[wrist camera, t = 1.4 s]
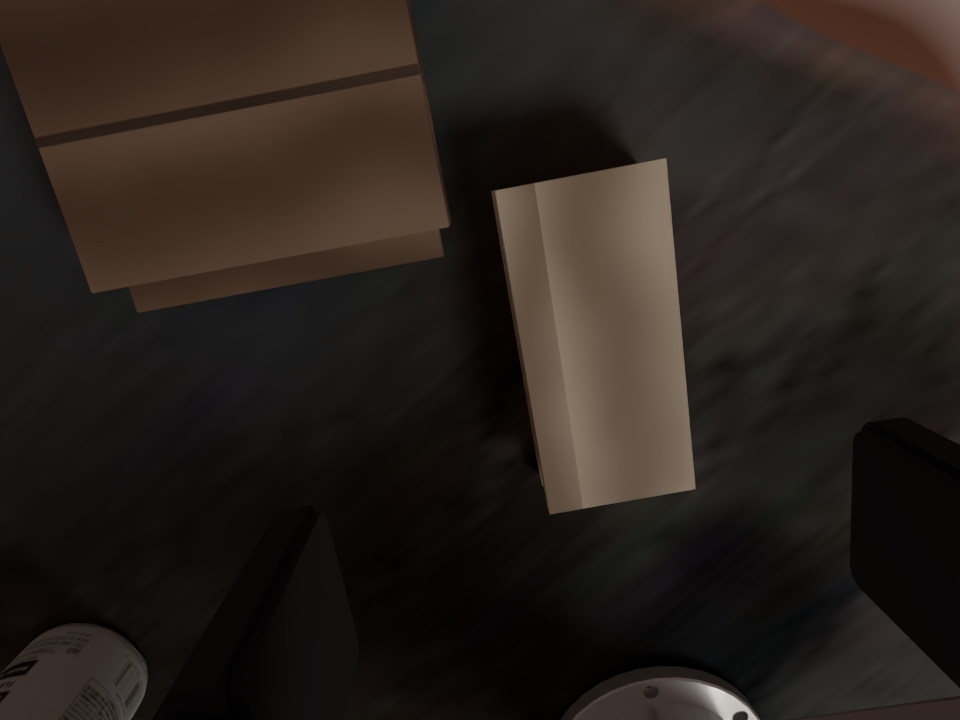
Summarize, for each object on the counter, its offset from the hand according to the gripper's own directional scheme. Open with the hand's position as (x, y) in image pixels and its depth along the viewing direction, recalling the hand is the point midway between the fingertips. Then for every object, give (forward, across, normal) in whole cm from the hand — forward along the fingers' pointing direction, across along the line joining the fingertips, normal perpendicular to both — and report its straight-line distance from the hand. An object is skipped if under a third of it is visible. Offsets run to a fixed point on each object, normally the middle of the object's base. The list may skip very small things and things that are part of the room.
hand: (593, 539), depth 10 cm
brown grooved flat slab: (+18, +9, -10) cm, 22 cm away
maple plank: (+18, -4, +1) cm, 18 cm away
